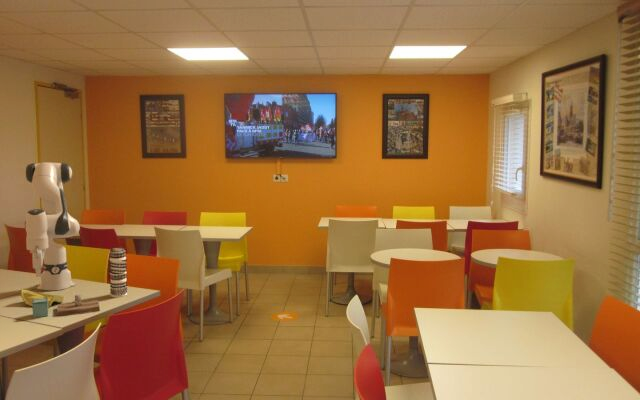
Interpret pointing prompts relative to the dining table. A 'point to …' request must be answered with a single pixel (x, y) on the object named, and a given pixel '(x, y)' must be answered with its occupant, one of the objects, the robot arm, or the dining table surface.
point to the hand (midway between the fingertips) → (38, 274)
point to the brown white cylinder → (118, 272)
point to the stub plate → (78, 307)
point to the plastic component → (39, 297)
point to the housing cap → (40, 307)
